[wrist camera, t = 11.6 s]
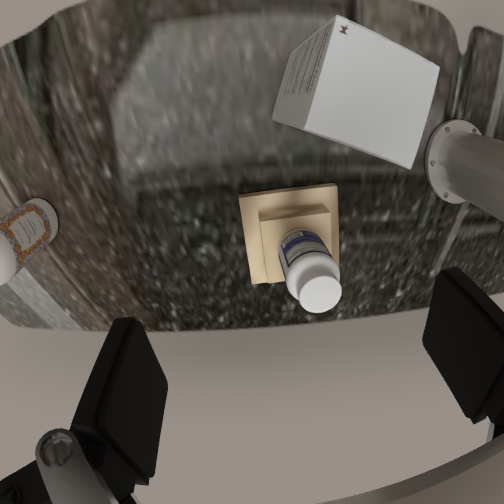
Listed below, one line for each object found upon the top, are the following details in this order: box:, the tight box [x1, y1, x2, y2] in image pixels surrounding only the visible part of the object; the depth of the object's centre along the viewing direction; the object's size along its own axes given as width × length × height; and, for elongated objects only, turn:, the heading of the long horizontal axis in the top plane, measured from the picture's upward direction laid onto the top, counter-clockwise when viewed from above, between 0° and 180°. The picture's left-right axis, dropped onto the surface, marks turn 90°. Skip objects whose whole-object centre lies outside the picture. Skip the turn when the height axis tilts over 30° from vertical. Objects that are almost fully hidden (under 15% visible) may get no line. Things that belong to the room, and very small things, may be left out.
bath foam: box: [0, 198, 58, 286], centre depth 29 cm, size 7×7×20 cm
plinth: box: [239, 183, 339, 284], centre depth 38 cm, size 12×12×5 cm
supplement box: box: [272, 15, 440, 169], centre depth 26 cm, size 10×9×17 cm
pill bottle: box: [278, 229, 342, 313], centre depth 32 cm, size 5×5×10 cm
